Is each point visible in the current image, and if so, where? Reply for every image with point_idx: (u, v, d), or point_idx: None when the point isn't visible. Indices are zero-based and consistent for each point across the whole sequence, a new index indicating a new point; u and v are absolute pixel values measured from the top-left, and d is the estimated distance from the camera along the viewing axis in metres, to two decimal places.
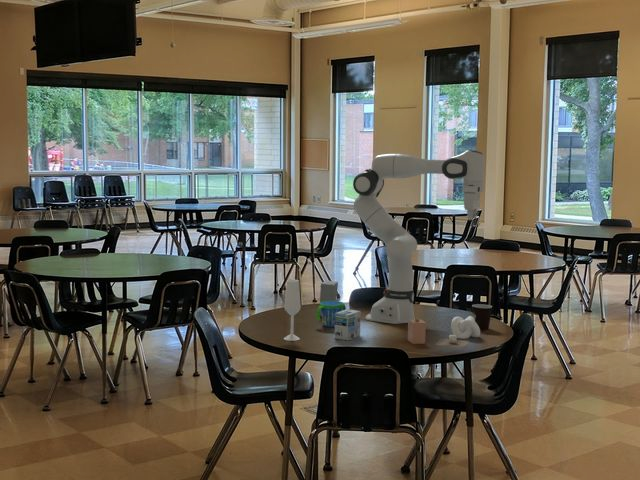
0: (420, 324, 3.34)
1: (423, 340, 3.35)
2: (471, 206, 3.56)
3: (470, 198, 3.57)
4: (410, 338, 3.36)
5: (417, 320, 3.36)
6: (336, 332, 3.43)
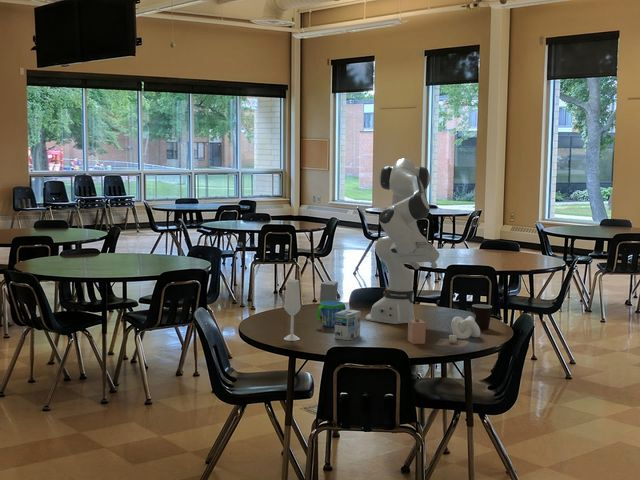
0: (420, 324, 3.34)
1: (423, 340, 3.35)
2: None
3: None
4: (410, 338, 3.36)
5: (417, 320, 3.36)
6: (336, 332, 3.43)
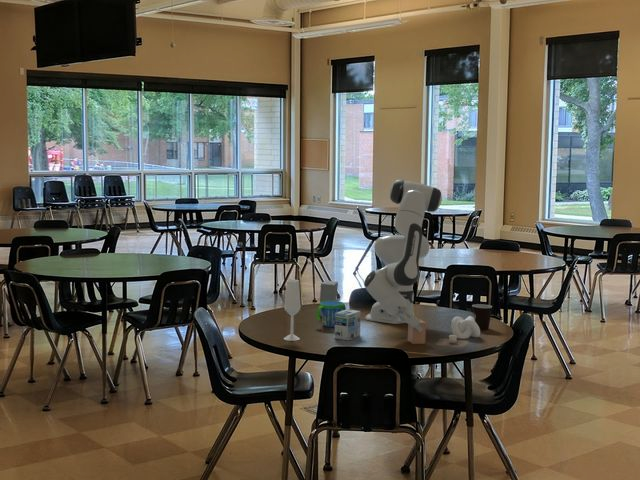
0: (420, 324, 3.34)
1: (423, 340, 3.35)
2: None
3: None
4: (410, 338, 3.36)
5: None
6: (336, 332, 3.43)
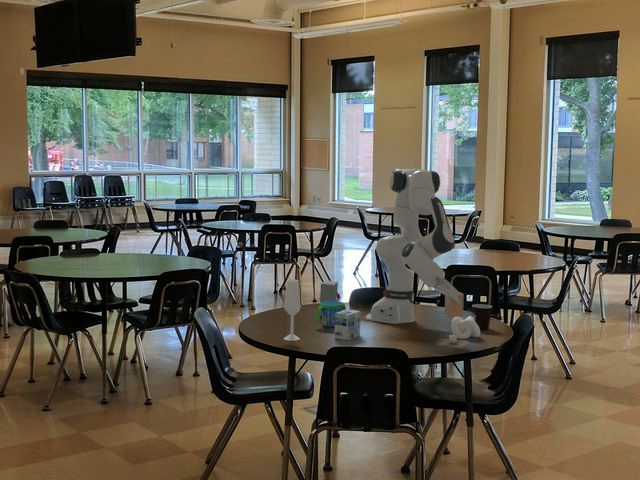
0: (458, 296, 3.32)
1: (461, 312, 3.33)
2: None
3: None
4: (447, 310, 3.34)
5: None
6: (336, 332, 3.43)
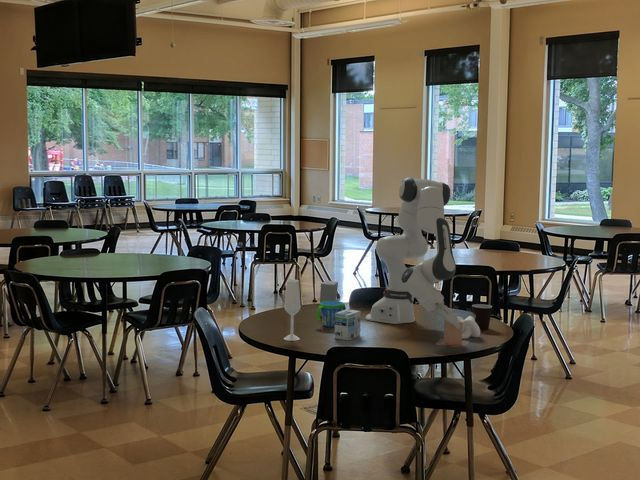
0: None
1: (460, 340, 3.34)
2: None
3: None
4: (446, 338, 3.36)
5: None
6: (336, 332, 3.43)
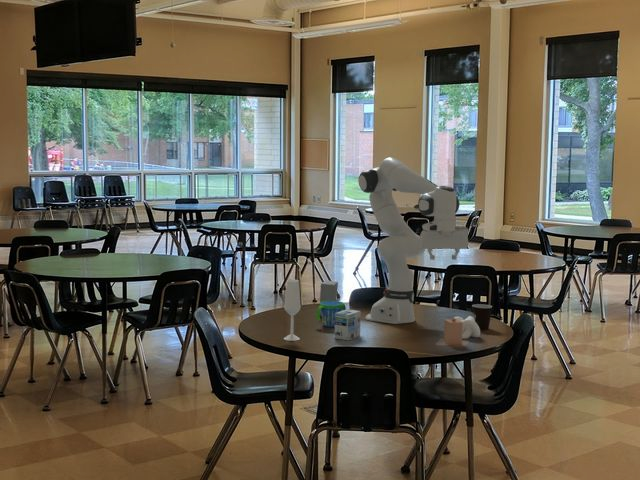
0: (457, 324, 3.33)
1: (460, 340, 3.34)
2: (421, 244, 3.41)
3: (422, 235, 3.41)
4: (446, 338, 3.36)
5: (454, 320, 3.35)
6: (336, 332, 3.43)
